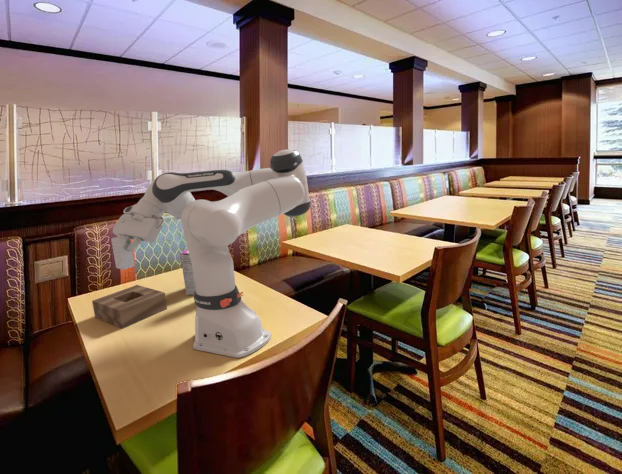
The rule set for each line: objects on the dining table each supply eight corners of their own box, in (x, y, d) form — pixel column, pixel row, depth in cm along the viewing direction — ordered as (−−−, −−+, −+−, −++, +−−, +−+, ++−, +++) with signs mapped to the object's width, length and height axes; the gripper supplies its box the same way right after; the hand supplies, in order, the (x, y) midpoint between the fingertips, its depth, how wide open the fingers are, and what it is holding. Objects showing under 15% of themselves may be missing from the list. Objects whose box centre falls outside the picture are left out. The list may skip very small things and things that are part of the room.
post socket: (167, 308, 126) (164, 292, 124) (122, 328, 113) (119, 310, 111) (139, 300, 134) (137, 284, 133) (95, 317, 121) (91, 300, 120)
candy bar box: (194, 284, 148) (189, 245, 144) (206, 284, 147) (202, 245, 144) (185, 295, 137) (179, 253, 133) (198, 295, 137) (193, 253, 133)
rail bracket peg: (134, 266, 121) (129, 236, 118) (123, 269, 117) (117, 239, 115) (127, 264, 123) (122, 235, 120) (116, 267, 120) (111, 238, 117)
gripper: (172, 222, 121) (150, 258, 116) (136, 218, 132) (114, 250, 127) (158, 211, 117) (134, 248, 111) (122, 207, 128) (99, 241, 122)
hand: (123, 249), depth 119 cm, fingers closed on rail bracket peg, 4 cm apart
